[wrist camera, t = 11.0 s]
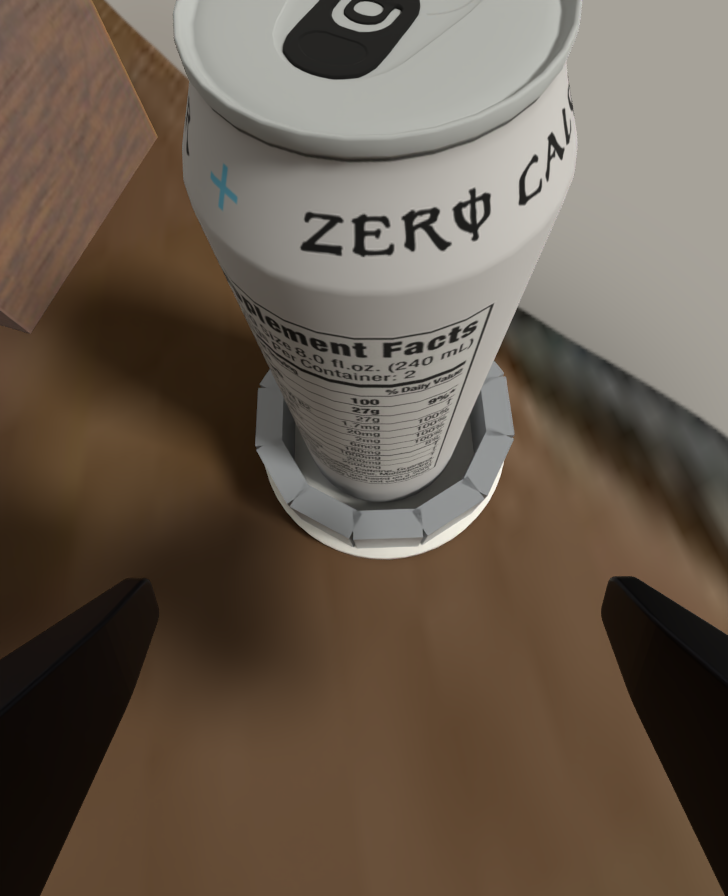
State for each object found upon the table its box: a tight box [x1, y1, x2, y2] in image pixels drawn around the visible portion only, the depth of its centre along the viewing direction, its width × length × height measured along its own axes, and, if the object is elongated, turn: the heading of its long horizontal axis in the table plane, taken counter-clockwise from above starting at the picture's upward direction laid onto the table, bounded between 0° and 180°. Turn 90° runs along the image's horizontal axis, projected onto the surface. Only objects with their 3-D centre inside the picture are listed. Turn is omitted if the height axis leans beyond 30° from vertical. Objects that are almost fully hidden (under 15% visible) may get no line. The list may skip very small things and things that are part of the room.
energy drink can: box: [173, 0, 583, 502], centre depth 12 cm, size 6×6×15 cm
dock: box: [255, 361, 514, 560], centre depth 19 cm, size 10×10×3 cm
